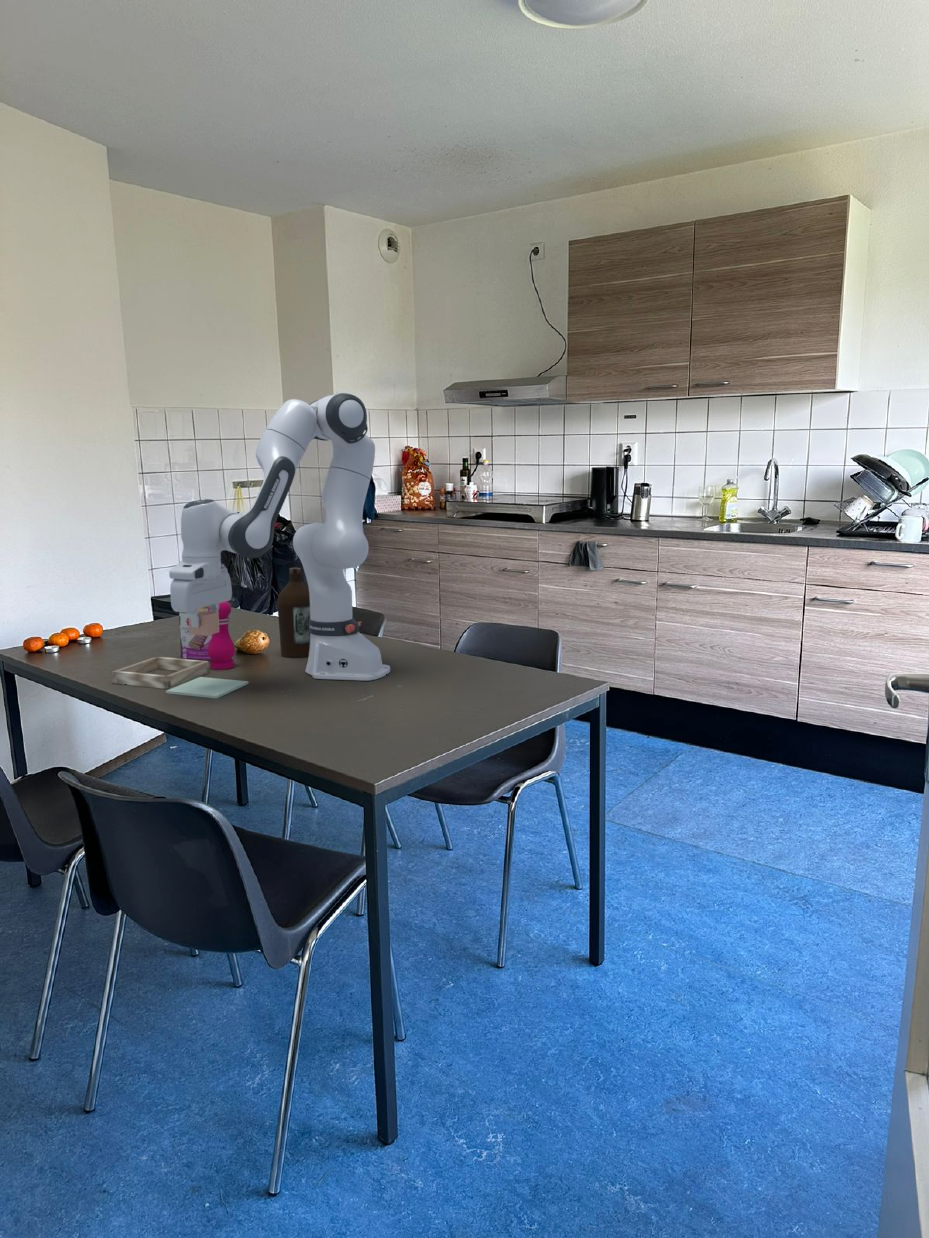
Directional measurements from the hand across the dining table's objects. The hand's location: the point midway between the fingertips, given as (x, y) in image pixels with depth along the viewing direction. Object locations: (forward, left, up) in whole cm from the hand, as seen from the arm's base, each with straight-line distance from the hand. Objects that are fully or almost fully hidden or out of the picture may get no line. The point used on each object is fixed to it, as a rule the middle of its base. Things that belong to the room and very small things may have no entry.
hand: (204, 624), depth 210 cm
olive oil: (-3, -40, -16) cm, 43 cm away
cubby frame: (+17, -5, -16) cm, 24 cm away
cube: (0, 0, -2) cm, 2 cm away
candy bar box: (+19, -26, -16) cm, 36 cm away
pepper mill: (+9, -20, -16) cm, 27 cm away
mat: (0, 0, -16) cm, 16 cm away
